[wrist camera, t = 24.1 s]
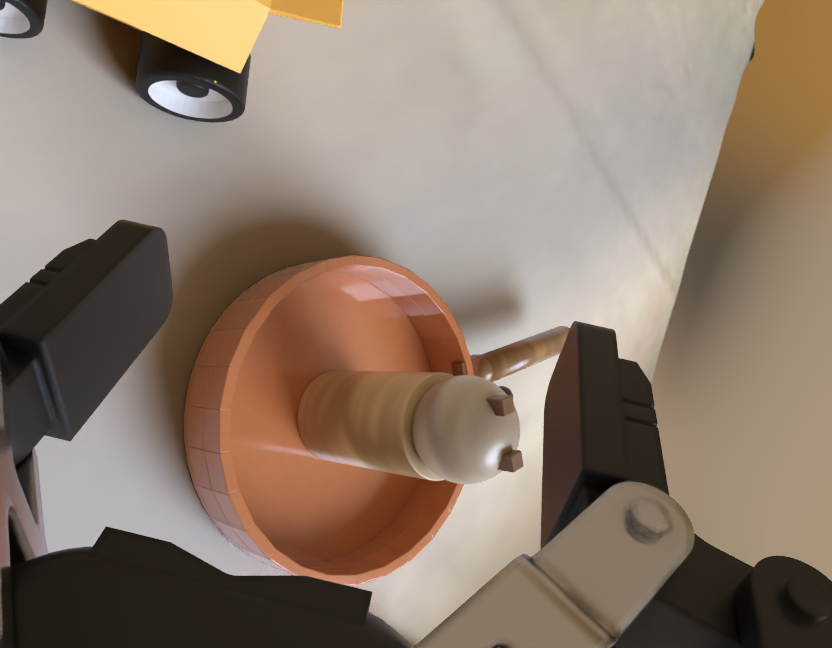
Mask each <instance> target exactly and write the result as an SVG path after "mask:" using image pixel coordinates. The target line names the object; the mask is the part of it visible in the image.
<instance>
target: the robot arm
mask: <svg viewBox="0 0 832 648" xmlns="http://www.w3.org/2000/svg"><path fill="white" fill-rule="evenodd" d="M172 299H173V290H172V281H171V273H170V264H169V255H168V247H167V239H166V235H165V232H164V231H163V230H162V229H161V228H159V227H154V226H150V225H145V224H141V223H136V222H132V221H127V220H119V221H117V222H116V223H115V224H114V225H113V226H111V227H110V228H109V229H108V230H107V231H106V232H105V233H104V234H103V235H101V236H100V237H99V238H98V239H97V240H94V239H88V240H86V241H83V242H81V243H79V244H76V245H74V246H72V247H70V248H67V249H65V250H63V251H62V252H61V253H60V254H58V255H57V256H56V257H55V258H54V259H53V260H52V261H50V262H49V263H48V264H47V265H46V266H45V269H44V270H43V269H41V270H40V271H39V272H38V273H36V274H35V275H34V276H33V277H32V278H31V279H30V282H29V283H28V282H26V283H25V284H24V285H22V286H21V287H20V288H19V289H18V290H17V291H15V292H14V293H13V294H12V295H11V296H10V297H8V298H7V299H6V300H5V301H4V302H3V303H2V304H0V648H412V646H411V645H410V644H409V643H408V641H407V640H405V639H404V638H403V637H402V636H401V635H400V634H399V633H398V632H397V631H396V630H395V629H394V628H392V627H391V626H390V625H388V624H387V623H386V622H384V621H383V620H382V619H380V618H378V617H376V616H374V615H373V614H371V613H369V612H368V611H369V606H370V601H371V596H372V592H371V591H366V590H362V589H358V588H354V587H350V586H346V585H342V584H338V583H334V582H330V581H326V580H322V579H318V578H313V577H309V576H233V575H229V574H226V573H224V572H222V571H221V570H219V569H217V568H215V567H213V566H212V565H210V564H208V563H206V562H204V561H203V560H201V559H199V558H197V557H196V556H194V555H192V554H190V553H188V552H187V551H185V550H183V549H181V548H180V547H178V546H176V545H174V544H172V543H171V542H167V541H163V540H159V539H155V538H151V537H146V536H142V535H138V534H134V533H130V532H126V531H122V530H118V529H114V528H110V527H105V529H104V530H103V532H102V534H101V535H100V537H99V538H98V540H97V541H96V543H95V544H94V546H93V547H81V548H72V549H66V550H61V551H57V552H52V553H48V550H47V545H46V539H45V531H44V521H43V511H42V500H41V490H40V480H39V470H38V460H37V454H36V451H35V448H34V447H35V446H36V444H37V443H38V442H39V441H40V440H41V438H42V437H43V436H44V435H46V436H50V437H55V438H59V439H63V440H67V441H71V440H72V439H73V437H74V436H75V435H76V434H77V432H78V431H79V430H80V429H81V427H82V426H83V425H84V424H85V422H86V421H87V420H88V418H89V417H90V416H91V415H92V413H93V412H94V411H95V410H96V408H97V407H98V406H99V405H100V403H101V402H102V401H103V400H104V398H105V397H106V396H107V394H108V393H109V392H110V391H111V389H112V388H113V387H114V386H115V384H116V383H117V382H118V381H119V379H120V378H121V377H122V376H123V374H124V373H125V372H126V370H127V369H128V368H129V367H130V365H131V364H132V363H133V362H134V360H135V359H136V358H137V357H138V355H139V354H140V353H141V352H142V350H143V349H144V348H145V346H146V345H147V344H148V343H149V341H150V340H151V339H152V338H153V336H154V335H155V334H156V333H157V331H158V330H159V329H160V328H161V326H162V325H163V324H164V322H165V321H166V319H167V317H168V315H169V312H170V309H171V305H172ZM656 426H657V419H656V413H655V410H654V400H653V394H652V387H651V383H650V382H649V380H648V379H647V377H646V376H645V374H644V373H643V371H642V370H641V368H640V367H639V365H638V364H637V362H633V361H629V360H624V359H620V358H618V350H617V341H616V333H615V331H614V330H613V329H608V328H604V327H599V326H595V325H590V324H586V323H581V322H577V321H575V322H573V324H572V326H571V328H570V330H569V332H568V335H567V338H566V340H565V343H564V346H563V348H562V351H561V353H560V356H559V359H558V361H557V364H556V367H555V369H554V372H553V374H552V377H551V380H550V383H549V386H548V390H547V395H546V400H545V408H544V439H543V476H542V514H541V550H540V551H539V552H538V553H536V554H535V555H534V556H532V557H529V556H528V555H527V554H522V555H520V556H519V557H517V558H515V559H514V560H513V561H512V562H510V563H509V564H508V565H507V566H506V567H505V568H503V569H502V570H501V571H500V572H499V573H498V574H497V575H495V576H494V577H493V578H492V579H491V580H490V581H489V582H487V583H486V584H485V585H484V586H483V587H482V588H481V589H480V590H478V591H477V592H476V593H475V594H474V595H473V596H472V597H470V598H469V599H468V600H467V601H466V602H465V603H464V604H462V605H461V606H460V607H459V608H458V609H457V610H456V611H455V612H453V613H452V614H451V615H450V616H449V617H448V618H447V619H445V620H444V621H443V622H442V623H441V624H440V625H439V626H438V627H436V628H435V629H434V630H433V631H432V632H431V633H430V634H428V635H427V636H426V637H425V638H424V639H423V640H422V641H420V642H419V643H418V644H417V645H416V646H415V647H414V648H832V581H830V580H829V579H828V578H827V577H826V576H825V575H823V574H822V573H821V572H819V571H818V570H816V569H815V568H813V567H812V566H810V565H808V564H806V563H804V562H801V561H799V560H796V559H794V558H790V557H785V556H771V557H767V558H764V559H762V560H761V561H759V562H758V563H757V564H756V565H755V567H752V566H750V565H748V564H746V563H744V562H742V561H740V560H738V559H736V558H735V557H733V556H731V555H729V554H727V553H725V552H723V551H721V550H719V549H717V548H715V547H714V546H712V545H710V544H708V543H707V542H705V541H704V540H702V539H701V538H700V537H698V536H697V535H696V534H695V533H694V530H693V526H692V523H691V521H690V519H689V517H688V515H687V514H686V513H685V511H684V510H683V508H682V507H681V506H680V505H679V504H678V503H677V502H676V501H675V500H674V499H673V498H671V497H670V496H669V493H668V486H667V481H666V474H665V468H664V461H663V456H662V449H661V443H660V437H659V431H658V428H657V427H656Z"/></svg>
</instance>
